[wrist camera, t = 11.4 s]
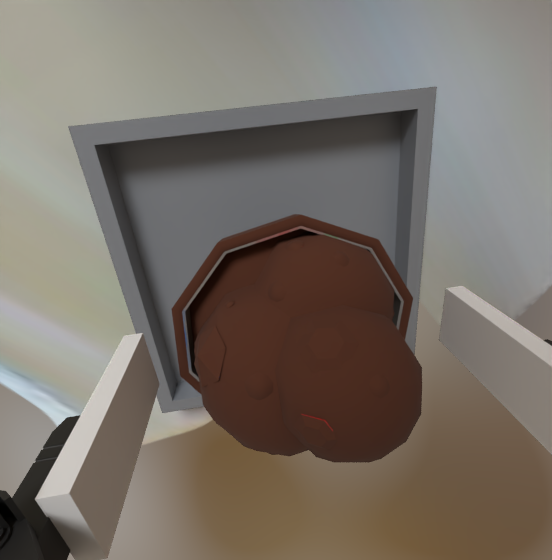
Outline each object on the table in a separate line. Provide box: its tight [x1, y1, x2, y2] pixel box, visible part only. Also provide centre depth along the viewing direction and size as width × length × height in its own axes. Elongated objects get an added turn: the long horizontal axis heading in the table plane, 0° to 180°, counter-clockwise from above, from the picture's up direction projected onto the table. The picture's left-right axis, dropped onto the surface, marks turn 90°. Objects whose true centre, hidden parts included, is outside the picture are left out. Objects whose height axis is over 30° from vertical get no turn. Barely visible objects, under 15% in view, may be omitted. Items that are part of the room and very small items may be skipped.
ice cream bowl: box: [171, 214, 422, 462], centre depth 17 cm, size 11×11×15 cm
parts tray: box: [68, 87, 437, 413], centre depth 23 cm, size 20×20×3 cm
